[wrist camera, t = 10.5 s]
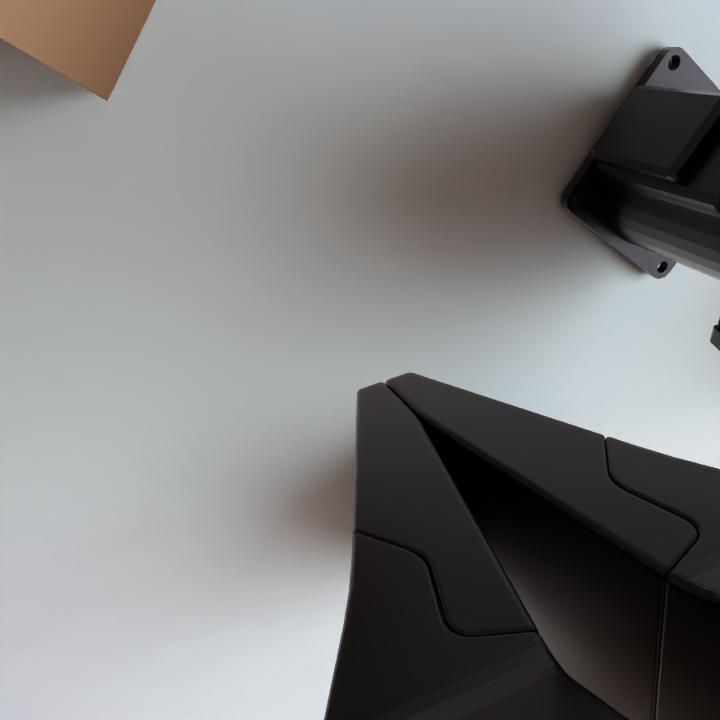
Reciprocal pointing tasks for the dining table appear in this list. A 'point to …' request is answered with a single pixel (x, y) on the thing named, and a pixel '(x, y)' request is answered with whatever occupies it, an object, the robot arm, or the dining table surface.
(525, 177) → the dining table surface
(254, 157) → the dining table surface
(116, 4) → the lever stand
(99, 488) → the dining table surface
